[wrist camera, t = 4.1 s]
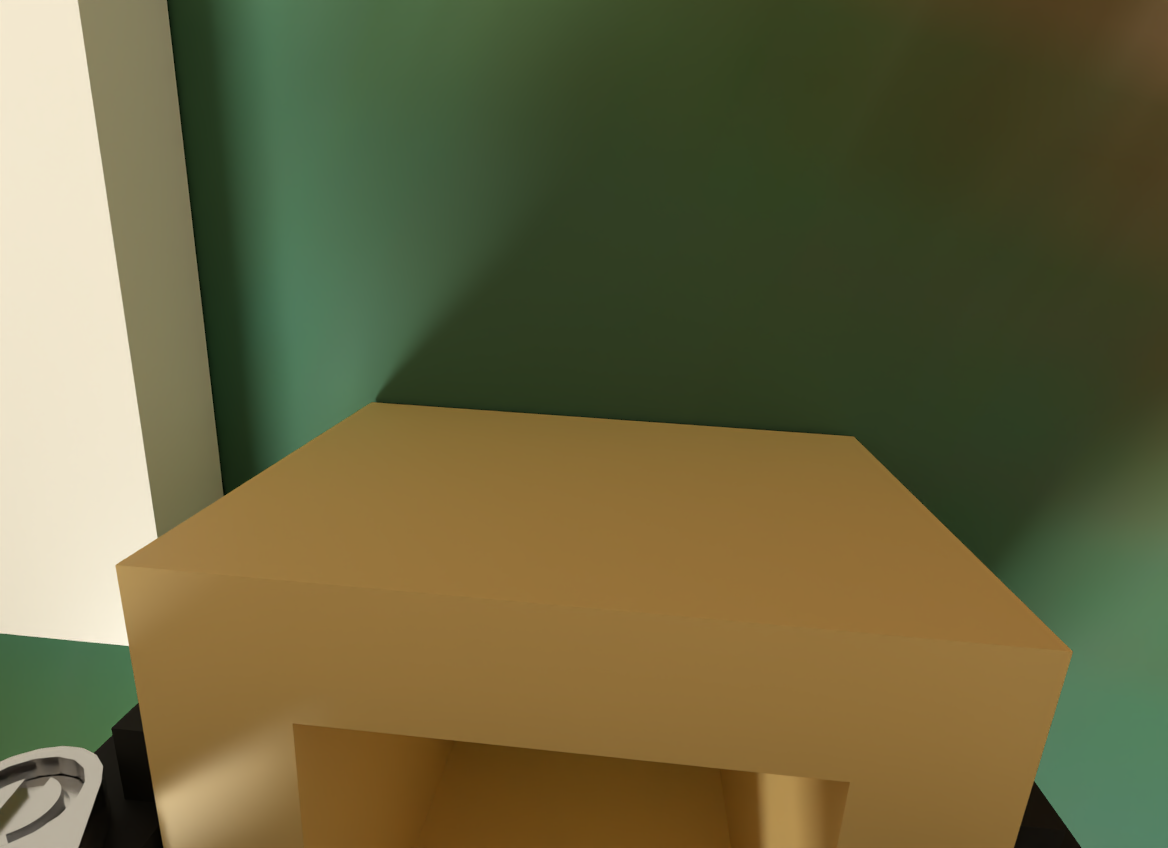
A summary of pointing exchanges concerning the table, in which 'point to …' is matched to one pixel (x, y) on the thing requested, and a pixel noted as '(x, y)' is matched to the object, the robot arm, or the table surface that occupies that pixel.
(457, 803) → the collar
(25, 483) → the post stand
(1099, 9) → the table surface
